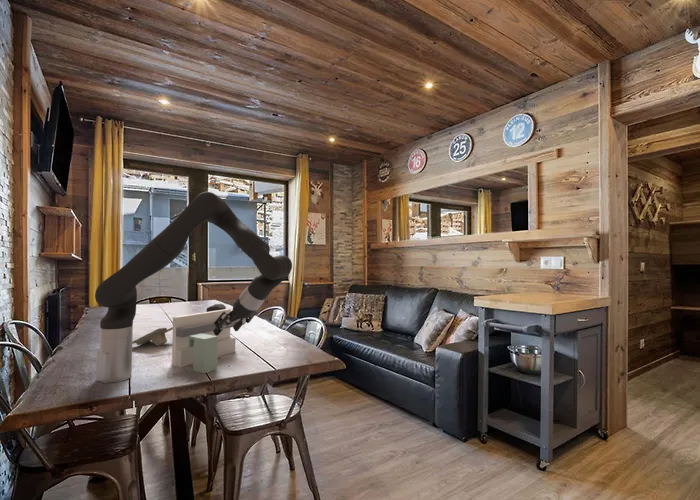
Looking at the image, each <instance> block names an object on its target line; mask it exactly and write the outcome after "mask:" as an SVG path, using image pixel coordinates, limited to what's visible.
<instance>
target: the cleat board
mask: <svg viewBox="0 0 700 500" xmlns="http://www.w3.org/2000/svg"><path fill="white" fill-rule="evenodd" d="M231 311H232V309H231V308H226V309H224V310H217V311H210V312H207V311H206V312H204V311H203V312H198V313H191V314H185V315H178V316H173V317H172V327H173V329H172V337H171V338H172V340H171V341H172V344H171V366H175V367H177V368H183V367H186V366H190V365H193V351H194V346H193V347H188V342H189V336H191V335H196V334H201V333H202V334H208V335H213V336H215V334H214V332H213V330H214V329H215V328H216V326H215V325H214V322H215V321H216V320H217V319H218V317H219V316H220V315H221V314H222V313H223V312H225V313H226V314H229V312H231ZM228 323H230V320H229V318H228ZM225 324H226V323H224V324H223V325H225ZM235 324H236V322H235V323H233V324H232V325H230V326H227V327H225V328H224V329H223V330H222V331H221V332H220V334H219V335H218V340H217V358H219V357H222V356H225V355H226V356H227V355H229V354H232V353H236V337H233V336H231V328H233V326H234V325H235Z"/></svg>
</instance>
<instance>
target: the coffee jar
mask: <svg viewBox="0 0 700 500" xmlns="http://www.w3.org/2000/svg"><path fill="white" fill-rule="evenodd" d="M224 309H227V307H226V306H225V305H224V304H222V303H216V304H215V303H214V304H213V305H210V306H209V307H207V308H206V312H210V311H217V310H224Z"/></svg>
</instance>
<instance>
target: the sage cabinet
mask: <svg viewBox="0 0 700 500" xmlns="http://www.w3.org/2000/svg"><path fill="white" fill-rule="evenodd" d="M217 340H218V336H213V335H208V334H202V333H201V334H196V335H191V336H189V342H188V347H193V346H194V351H193V364H192V371H193V372H197V373H201V374H206V373H210V372H213V371H216V370H217V369H218V357H217Z"/></svg>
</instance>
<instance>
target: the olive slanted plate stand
mask: <svg viewBox="0 0 700 500" xmlns="http://www.w3.org/2000/svg"><path fill="white" fill-rule="evenodd" d="M170 331H173V326H172V327H170V328H168V329H167V327H161V328H160V327H159V328H157V329H154V330H153V331H151V332H148V333H146V334H144V335H143V336H141V337H139V338H137V339H135V340H132V345H133V344H136V345H137V346H142V345H144V344H146V343H148V342H151V341H152V342H153V344H154V345H155V346H156V347H158V346H159V347H160V346H162V345H164V344H166V343H168V340H167V336H166V333H168V332H170Z"/></svg>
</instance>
